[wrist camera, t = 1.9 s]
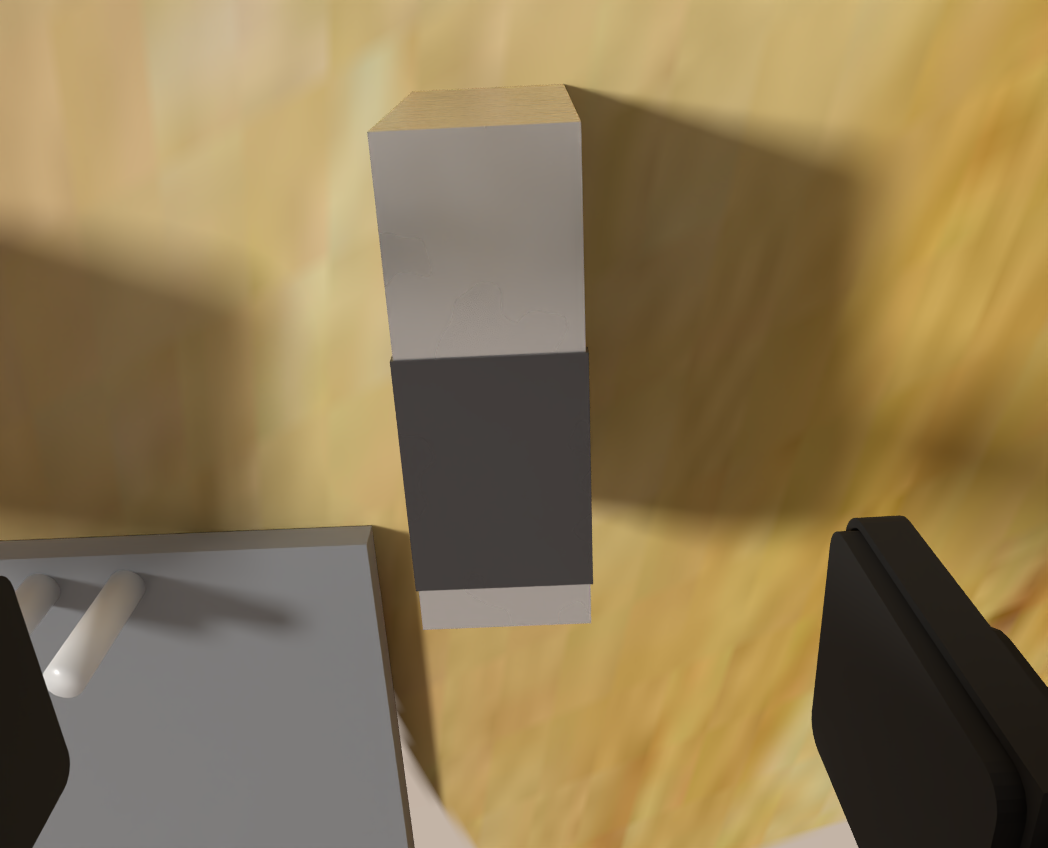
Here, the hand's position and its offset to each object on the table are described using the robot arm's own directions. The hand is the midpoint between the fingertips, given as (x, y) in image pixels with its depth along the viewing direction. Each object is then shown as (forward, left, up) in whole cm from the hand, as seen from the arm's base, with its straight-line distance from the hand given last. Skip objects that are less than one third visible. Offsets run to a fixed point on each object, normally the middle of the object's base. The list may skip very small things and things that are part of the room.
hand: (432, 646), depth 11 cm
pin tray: (+11, +14, -14) cm, 23 cm away
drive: (-1, 0, -14) cm, 14 cm away
